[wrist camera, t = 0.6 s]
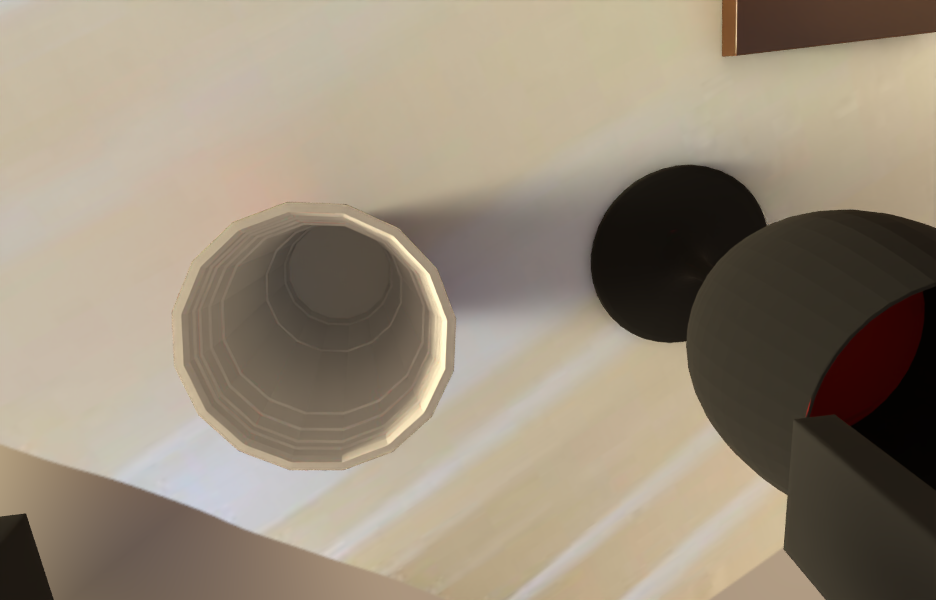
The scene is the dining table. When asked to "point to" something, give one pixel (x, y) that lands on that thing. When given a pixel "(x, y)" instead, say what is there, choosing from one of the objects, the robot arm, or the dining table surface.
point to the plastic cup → (313, 336)
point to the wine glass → (779, 313)
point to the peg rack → (818, 22)
